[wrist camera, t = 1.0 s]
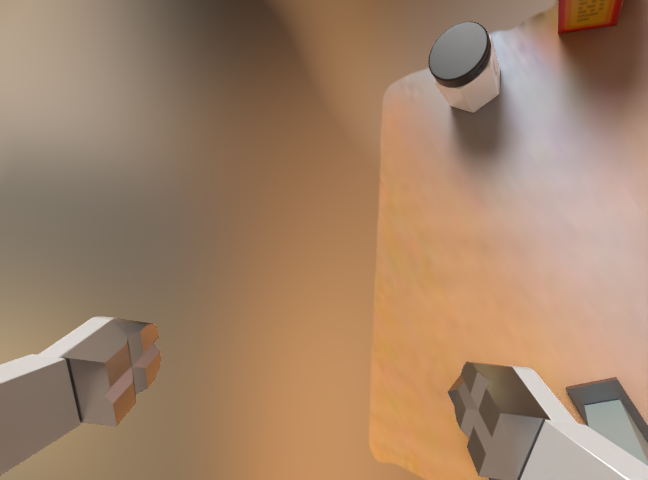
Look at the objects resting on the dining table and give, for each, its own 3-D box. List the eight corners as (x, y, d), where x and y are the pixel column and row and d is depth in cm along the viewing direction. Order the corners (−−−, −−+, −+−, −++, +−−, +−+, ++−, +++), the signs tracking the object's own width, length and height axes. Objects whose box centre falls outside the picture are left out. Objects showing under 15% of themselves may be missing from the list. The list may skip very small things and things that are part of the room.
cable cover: (619, 399, 39) (648, 462, 28) (672, 481, 36) (730, 592, 25) (584, 405, 42) (596, 466, 30) (631, 483, 39) (666, 586, 27)
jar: (500, 107, 50) (488, 73, 41) (449, 118, 55) (427, 90, 45) (502, 54, 50) (490, 7, 41) (450, 69, 55) (429, 31, 46)
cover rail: (616, 377, 41) (617, 379, 40) (694, 496, 36) (697, 501, 35) (565, 387, 44) (566, 389, 43) (631, 498, 39) (633, 503, 38)
